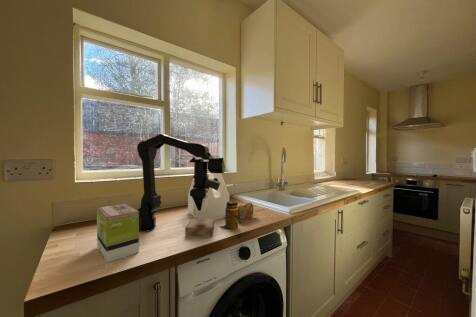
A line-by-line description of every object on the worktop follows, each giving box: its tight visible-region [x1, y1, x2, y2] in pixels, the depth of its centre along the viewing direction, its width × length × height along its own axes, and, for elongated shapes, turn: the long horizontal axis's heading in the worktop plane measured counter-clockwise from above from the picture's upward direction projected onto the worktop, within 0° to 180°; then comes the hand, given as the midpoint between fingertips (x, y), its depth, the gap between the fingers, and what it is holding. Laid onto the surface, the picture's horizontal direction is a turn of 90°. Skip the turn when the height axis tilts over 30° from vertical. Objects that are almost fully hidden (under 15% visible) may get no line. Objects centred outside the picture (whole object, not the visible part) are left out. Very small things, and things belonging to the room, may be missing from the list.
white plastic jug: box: [187, 172, 230, 220], centre depth 117 cm, size 19×15×25 cm
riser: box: [184, 218, 215, 238], centre depth 90 cm, size 11×11×4 cm
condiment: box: [218, 200, 242, 233], centre depth 95 cm, size 7×8×12 cm
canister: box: [193, 195, 208, 215], centre depth 90 cm, size 6×6×8 cm
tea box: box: [96, 203, 140, 263], centre depth 72 cm, size 15×10×15 cm, turn 45°
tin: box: [237, 202, 254, 223], centre depth 108 cm, size 15×3×8 cm, turn 148°
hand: (200, 208), depth 90 cm, fingers closed on canister, 6 cm apart
